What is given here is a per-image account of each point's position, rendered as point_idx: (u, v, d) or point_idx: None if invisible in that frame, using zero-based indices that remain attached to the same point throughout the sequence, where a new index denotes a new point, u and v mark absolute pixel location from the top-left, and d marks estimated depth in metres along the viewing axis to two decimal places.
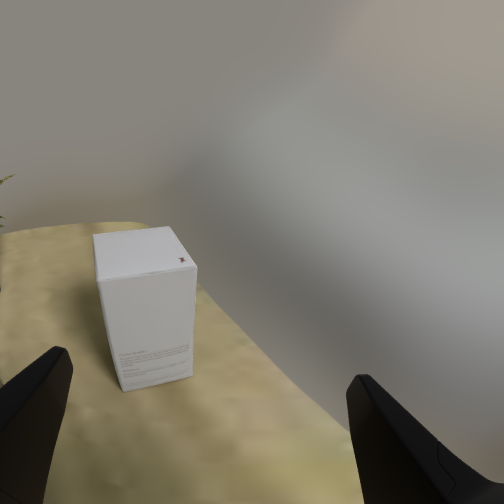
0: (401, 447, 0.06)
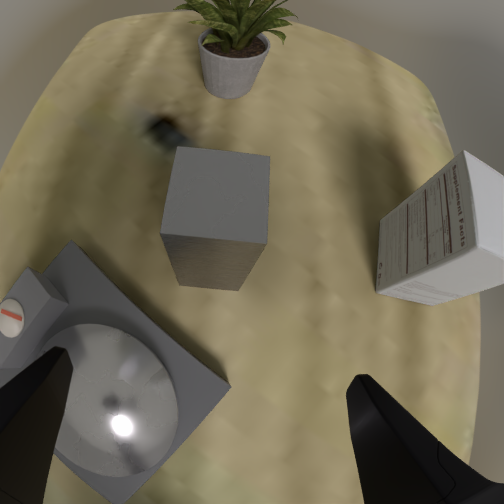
0: (401, 447, 0.06)
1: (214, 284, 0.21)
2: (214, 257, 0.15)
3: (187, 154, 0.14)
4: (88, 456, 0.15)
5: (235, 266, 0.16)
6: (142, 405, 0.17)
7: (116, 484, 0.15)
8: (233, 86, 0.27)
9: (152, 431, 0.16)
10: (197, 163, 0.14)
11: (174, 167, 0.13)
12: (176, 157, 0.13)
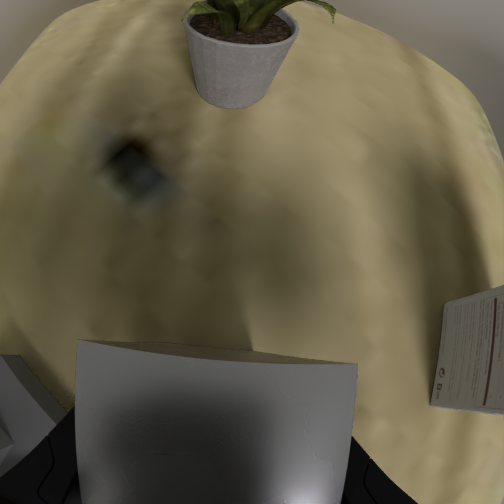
0: None
1: None
2: None
3: (107, 374, 0.04)
4: None
5: None
6: None
7: None
8: (239, 90, 0.17)
9: None
10: (141, 409, 0.04)
11: (80, 413, 0.04)
12: (80, 380, 0.04)
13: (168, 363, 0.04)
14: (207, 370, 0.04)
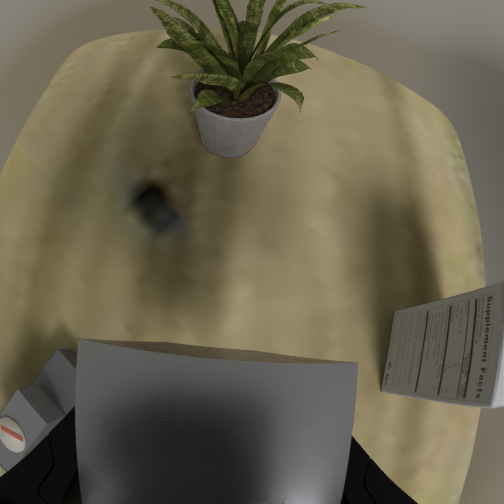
0: None
1: None
2: None
3: (108, 372, 0.04)
4: None
5: None
6: None
7: None
8: (234, 146, 0.24)
9: None
10: (141, 408, 0.04)
11: (80, 412, 0.04)
12: (80, 380, 0.04)
13: (168, 362, 0.04)
14: (207, 369, 0.04)
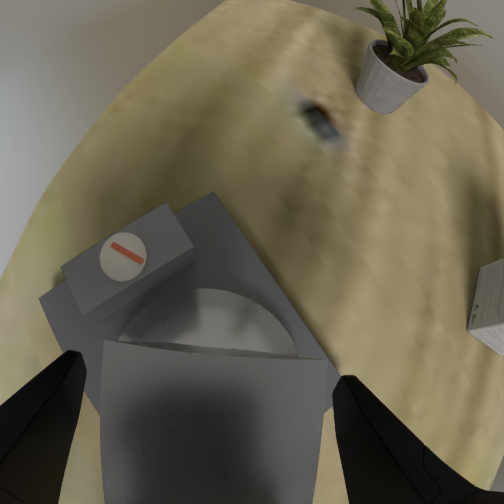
0: (385, 451, 0.06)
1: None
2: None
3: (128, 366, 0.05)
4: None
5: None
6: None
7: None
8: (387, 102, 0.26)
9: None
10: (154, 394, 0.05)
11: (104, 399, 0.05)
12: (105, 372, 0.05)
13: (176, 357, 0.05)
14: (206, 363, 0.05)
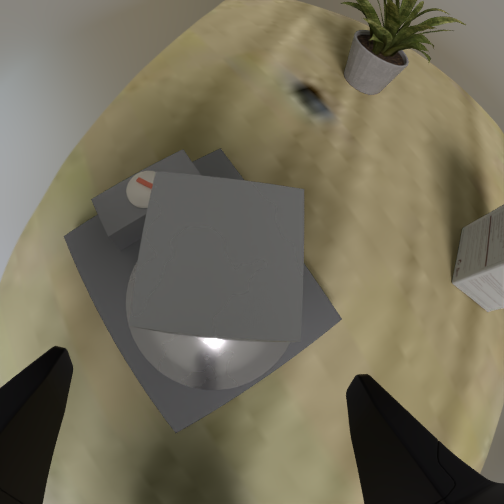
0: (401, 447, 0.06)
1: None
2: None
3: (171, 185, 0.08)
4: (176, 359, 0.17)
5: (246, 340, 0.11)
6: None
7: (187, 402, 0.18)
8: (371, 83, 0.29)
9: (264, 342, 0.18)
10: (187, 201, 0.08)
11: (150, 208, 0.08)
12: (154, 190, 0.08)
13: (204, 179, 0.09)
14: (224, 182, 0.09)
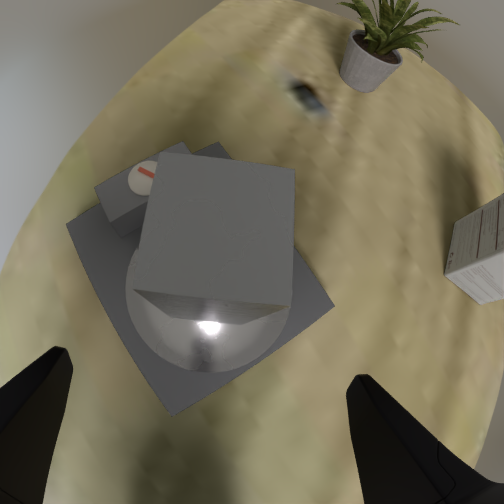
0: (401, 447, 0.06)
1: (212, 320, 0.17)
2: (212, 309, 0.11)
3: (174, 164, 0.09)
4: (173, 342, 0.18)
5: (240, 314, 0.12)
6: None
7: (184, 386, 0.18)
8: (366, 81, 0.30)
9: (258, 326, 0.19)
10: (188, 178, 0.09)
11: (154, 184, 0.09)
12: (158, 168, 0.09)
13: (204, 159, 0.09)
14: (222, 162, 0.09)
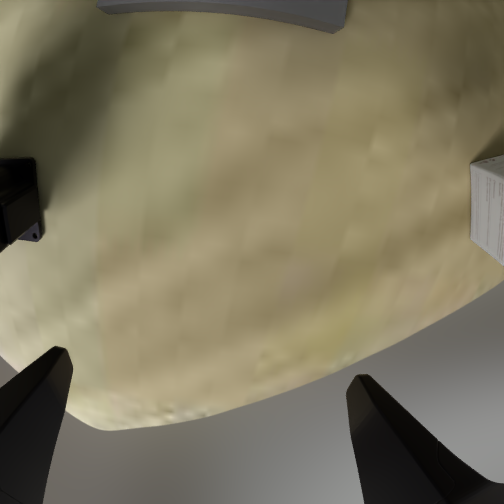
0: (401, 447, 0.06)
1: None
2: None
3: None
4: None
5: None
6: None
7: None
8: None
9: None
10: None
11: None
12: None
13: None
14: None
